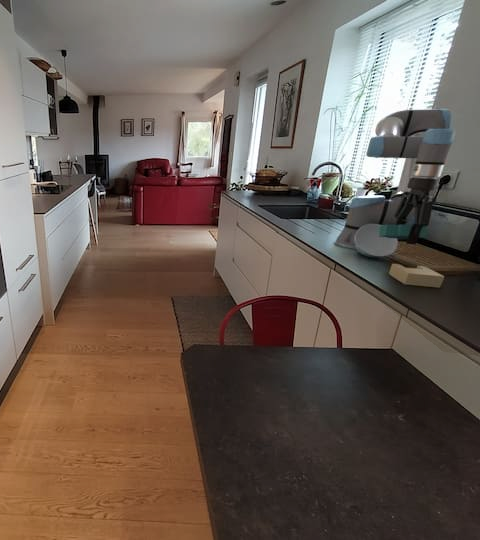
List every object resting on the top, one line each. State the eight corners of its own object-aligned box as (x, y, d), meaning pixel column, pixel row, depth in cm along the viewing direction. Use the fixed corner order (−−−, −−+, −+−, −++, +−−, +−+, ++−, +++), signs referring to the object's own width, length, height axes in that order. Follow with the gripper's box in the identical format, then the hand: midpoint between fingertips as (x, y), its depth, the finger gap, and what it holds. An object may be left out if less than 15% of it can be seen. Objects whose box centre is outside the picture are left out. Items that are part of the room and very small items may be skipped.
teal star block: (410, 239, 122) (411, 228, 122) (425, 237, 114) (426, 225, 114) (376, 237, 124) (377, 226, 124) (388, 234, 117) (390, 223, 117)
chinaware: (360, 268, 137) (369, 261, 130) (339, 239, 143) (347, 231, 136) (395, 256, 136) (406, 248, 129) (372, 228, 142) (382, 218, 135)
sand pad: (388, 274, 117) (392, 263, 115) (420, 277, 114) (424, 266, 113) (404, 284, 107) (408, 273, 106) (440, 287, 105) (444, 276, 104)
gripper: (395, 174, 123) (377, 232, 131) (432, 179, 103) (408, 247, 111) (418, 175, 121) (398, 234, 129) (460, 180, 101) (434, 249, 109)
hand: (403, 240), depth 120 cm, fingers closed on teal star block, 9 cm apart
